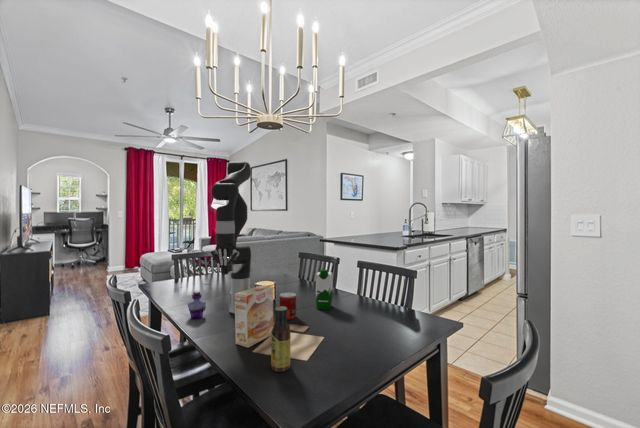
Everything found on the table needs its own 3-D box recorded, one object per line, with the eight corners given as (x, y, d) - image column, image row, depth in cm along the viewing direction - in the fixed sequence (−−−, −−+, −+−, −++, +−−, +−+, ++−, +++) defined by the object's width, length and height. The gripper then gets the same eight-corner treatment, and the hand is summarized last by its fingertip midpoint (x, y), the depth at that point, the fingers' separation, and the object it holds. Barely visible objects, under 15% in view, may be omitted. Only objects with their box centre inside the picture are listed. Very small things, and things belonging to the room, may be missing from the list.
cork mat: (252, 352, 111) (252, 351, 111) (276, 331, 130) (276, 330, 130) (307, 361, 105) (307, 360, 105) (324, 337, 124) (324, 337, 124)
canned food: (293, 320, 142) (293, 297, 142) (277, 319, 144) (277, 296, 144) (298, 315, 150) (298, 292, 150) (282, 314, 152) (282, 291, 151)
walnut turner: (259, 326, 135) (259, 324, 135) (265, 322, 141) (265, 319, 141) (304, 333, 128) (304, 330, 128) (308, 327, 134) (308, 325, 134)
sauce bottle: (271, 363, 103) (271, 304, 103) (290, 362, 103) (290, 304, 103) (270, 374, 96) (270, 311, 96) (290, 373, 97) (290, 310, 97)
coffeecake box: (248, 348, 114) (246, 295, 114) (234, 344, 117) (233, 293, 117) (274, 334, 126) (273, 286, 126) (261, 330, 130) (260, 284, 130)
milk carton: (314, 309, 158) (315, 271, 158) (316, 304, 167) (316, 267, 167) (331, 310, 157) (332, 271, 157) (332, 304, 166) (333, 268, 166)
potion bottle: (209, 317, 146) (209, 292, 146) (191, 322, 140) (191, 295, 140) (201, 313, 152) (201, 288, 152) (183, 317, 146) (183, 292, 146)
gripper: (205, 232, 124) (205, 275, 124) (234, 233, 120) (234, 277, 120) (217, 231, 131) (217, 271, 131) (244, 231, 127) (244, 273, 127)
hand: (225, 274), depth 126 cm, fingers closed
